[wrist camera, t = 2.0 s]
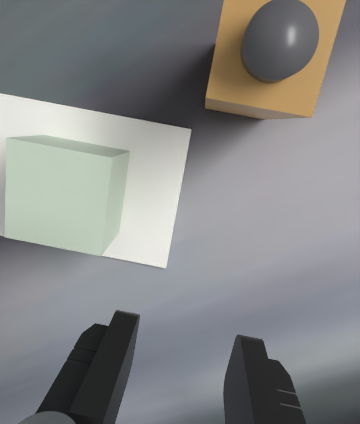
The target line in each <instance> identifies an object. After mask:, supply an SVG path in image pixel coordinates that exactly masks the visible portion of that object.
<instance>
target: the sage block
mask: <svg viewBox="0 0 360 424" xmlns="http://www.w3.org/2000/svg"><path fill="white" fill-rule="evenodd" d="M129 155H130V151H127V150H122V149H117V148H112V147H106V146H101V145H96V144H91V143H85V142H80V141H75V140H70V139H64V138H59V137H54V136H49V135H34V136H21V137H9V138H6V188H5V237H6V238H11V239H16V240H21V241H26V242H31V243H36V244H41V245H46V246H51V247H56V248H61V249H66V250H71V251H76V252H82V253H87V254H92V255H97V256H102V254H103V253H104V252H105V250H106V249H107V248H108V246H109V245H110V244H111V243H112V241H113V240H114V239H115V237H116V236H117V235H118V233H119V231H120V223H121V216H122V208H123V200H124V193H125V185H126V177H127V170H128V162H129Z"/></svg>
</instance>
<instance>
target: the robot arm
mask: <svg viewBox="0 0 360 424" xmlns="http://www.w3.org/2000/svg"><path fill="white" fill-rule="evenodd" d="M139 319H140V314H135V313H130V312H125V311H120V310H116V312H115V314H114V316H113V318H112V320H111V322H110V324H109V326H105V325H100V324H96V323H95V324H94V325H92V326H91V327H90V328H88V329H87V330H86V331H84V332H83V333H82V334H81V336H80V338H79V339H78V341H77V343H76V345H75V346H74V349H73V350H72V351H71V353H70V355H69V357H68V359H67V361H66V362H65V364H64V365H63V367H62V369H61V371H60V372H59V374H58V376H57V377H56V379H55V381H54V383H53V384H52V386H51V388H50V390H49V391H48V393H47V395H46V396H45V398H44V400H43V402H42V403H41V405H40V407H39V409H38V410H37V411H36V413H35V414H33V415H31V416H29V417H27V418H25V419H24V420H22V421H21V422H20V423H18V424H115V421H116V418H117V414H118V411H119V407H120V404H121V401H122V397H123V394H124V391H125V387H126V384H127V380H128V377H129V373H130V369H131V365H132V360H133V355H134V349H135V343H136V337H137V331H138V325H139ZM295 393H296V392H295V389H294V386H293V383H292V380H291V377H290V375H289V374H288V373H287V371H286V370H285V369H284V367H283V366H282V365H281V363H280V362H279V361H277V360H272V359H268V356H267V353H266V349H265V345H264V342H263V340H262V339H258V338H253V337H248V336H243V335H237V336H236V339H235V342H234V346H233V349H232V353H231V357H230V360H229V364H228V367H227V371H226V375H225V380H224V392H223V396H224V411H225V424H306V421H305V418H304V415H303V412H302V410H300V404H299V401H298V398H297V396H296V395H295Z"/></svg>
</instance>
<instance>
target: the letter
mask: <svg viewBox="0 0 360 424" xmlns="http://www.w3.org/2000/svg"><path fill="white" fill-rule="evenodd" d="M191 130H192V129H187V128H182V127H176V126H171V125H166V124H161V123H155V122H150V121H145V120H139V119H134V118H129V117H123V116H118V115H113V114H107V113H102V112H97V111H91V110H86V109H81V108H75V107H70V106H65V105H60V104H54V103H49V102H44V101H38V100H33V99H28V98H22V97H17V96H12V95H6V94H1V93H0V236H5V188H6V138H9V137H21V136H34V135H49V136H54V137H59V138H64V139H70V140H75V141H80V142H85V143H91V144H96V145H101V146H106V147H112V148H117V149H122V150H127V151H130V155H129V162H128V170H127V177H126V185H125V193H124V200H123V208H122V216H121V223H120V231H119V233H118V235H117V236H116V237H115V239H114V240H113V241H112V243H111V244H110V245H109V246H108V248H107V249H106V250H105V252H104V253H103V254H102V256H107V257H112V258H117V259H122V260H127V261H132V262H137V263H142V264H147V265H152V266H157V267H162V268H166V266H167V261H168V255H169V250H170V244H171V239H172V233H173V228H174V223H175V217H176V212H177V206H178V201H179V195H180V190H181V184H182V179H183V174H184V168H185V163H186V157H187V152H188V146H189V141H190V136H191Z"/></svg>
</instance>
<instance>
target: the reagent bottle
mask: <svg viewBox="0 0 360 424" xmlns="http://www.w3.org/2000/svg"><path fill="white" fill-rule="evenodd" d="M345 2H346V0H224V4H223V9H222V14H221V19H220V25H219V30H218V35H217V40H216V46H215V51H214V56H213V61H212V66H211V72H210V77H209V82H208V87H207V93H206V98H205V109H211V110H216V111H221V112H227V113H232V114H237V115H243V116H248V117H254V118H259V119H287V118H311V117H312V116H313V113H314V109H315V106H316V102H317V99H318V95H319V92H320V89H321V85H322V82H323V78H324V75H325V71H326V68H327V64H328V61H329V57H330V54H331V50H332V47H333V44H334V40H335V37H336V33H337V30H338V26H339V23H340V19H341V16H342V12H343V9H344V5H345Z"/></svg>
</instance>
